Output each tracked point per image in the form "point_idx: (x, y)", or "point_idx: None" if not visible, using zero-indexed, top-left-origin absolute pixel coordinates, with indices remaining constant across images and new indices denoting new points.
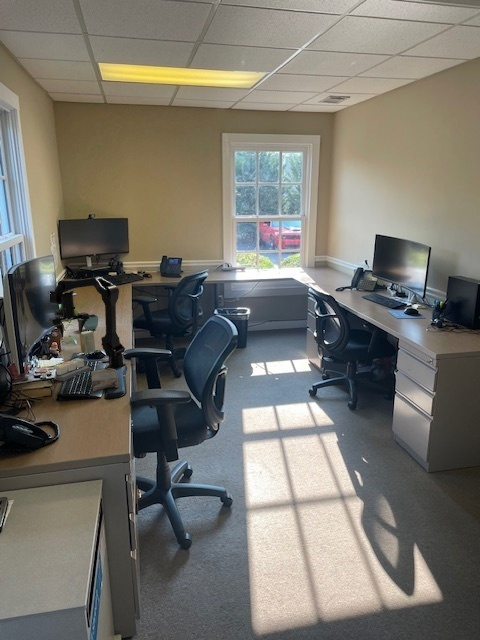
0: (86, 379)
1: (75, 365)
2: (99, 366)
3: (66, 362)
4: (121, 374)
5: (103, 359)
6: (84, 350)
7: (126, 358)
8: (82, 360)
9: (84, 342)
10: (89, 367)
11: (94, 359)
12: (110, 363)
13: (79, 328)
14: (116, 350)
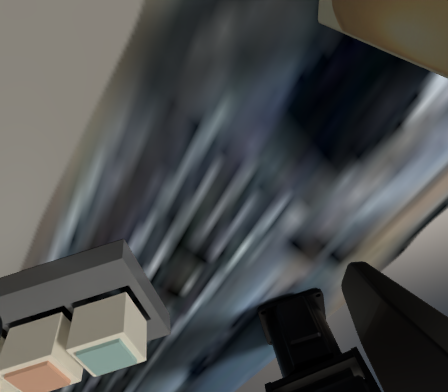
0: (108, 378)
1: None
2: (237, 283)
3: (22, 378)
4: (241, 382)
5: (329, 197)
6: (340, 17)
7: (402, 252)
8: (137, 359)
9: (393, 53)
10: (164, 334)
11: (297, 161)
12: (271, 331)
13: (406, 367)
14: (351, 361)
